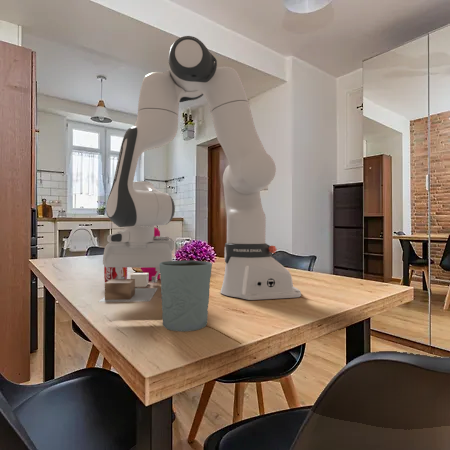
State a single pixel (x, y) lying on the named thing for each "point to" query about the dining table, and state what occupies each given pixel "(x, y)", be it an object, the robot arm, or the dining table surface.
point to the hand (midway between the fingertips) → (138, 282)
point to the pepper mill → (152, 270)
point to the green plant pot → (185, 294)
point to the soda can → (113, 273)
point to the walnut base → (119, 289)
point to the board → (137, 295)
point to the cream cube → (140, 279)
